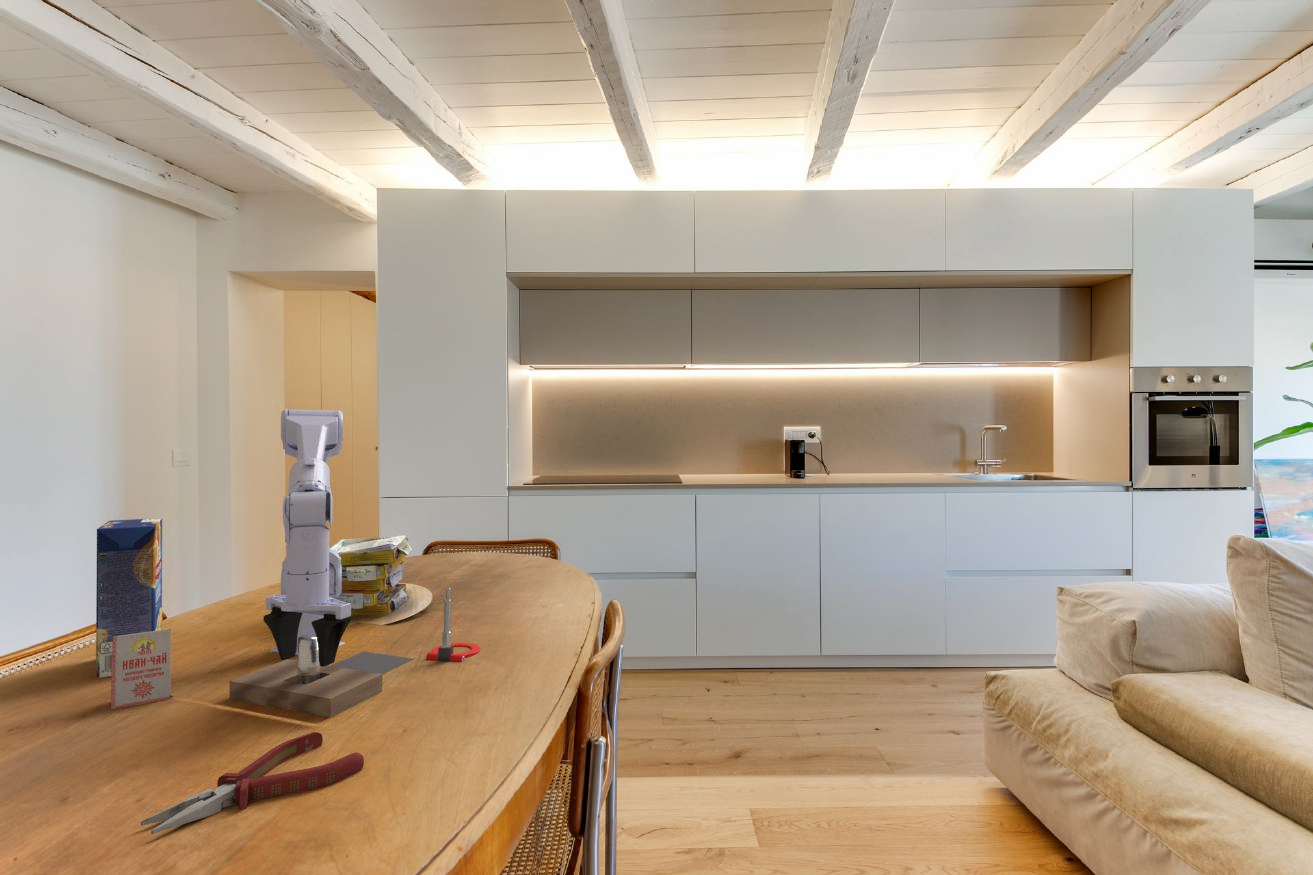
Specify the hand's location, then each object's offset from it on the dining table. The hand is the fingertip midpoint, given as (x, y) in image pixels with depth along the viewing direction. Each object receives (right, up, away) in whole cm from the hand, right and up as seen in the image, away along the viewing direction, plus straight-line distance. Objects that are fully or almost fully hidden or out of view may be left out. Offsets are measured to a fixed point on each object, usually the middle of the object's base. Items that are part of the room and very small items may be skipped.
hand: (307, 661), depth 99 cm
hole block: (0, -5, 0) cm, 5 cm away
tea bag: (-24, -6, -2) cm, 24 cm away
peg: (0, -5, 0) cm, 5 cm away
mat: (+3, -5, +13) cm, 14 cm away
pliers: (+7, -6, -24) cm, 26 cm away
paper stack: (-10, -5, +47) cm, 49 cm away
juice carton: (-38, -5, +14) cm, 40 cm away
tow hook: (+16, -6, +20) cm, 26 cm away
